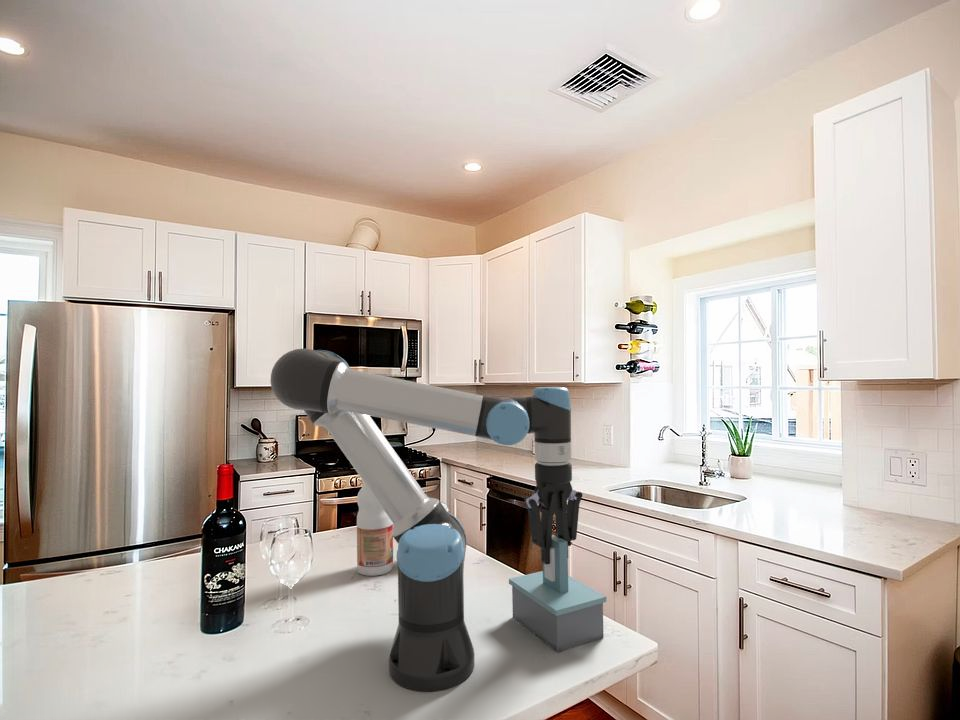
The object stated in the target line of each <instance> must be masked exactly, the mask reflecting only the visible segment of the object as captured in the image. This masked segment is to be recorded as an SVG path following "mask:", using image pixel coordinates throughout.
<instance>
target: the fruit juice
mask: <svg viewBox="0 0 960 720" xmlns="http://www.w3.org/2000/svg"><path fill="white" fill-rule="evenodd" d="M356 502H357V506H358V513H357V515H356V557H357V558H356V562H357V563H356V568H357V572H358V573H359V574H360V575H362V576H367V577H375V576H383V575H385V574H388V573H390V572H391V571H393V568H394V537H393V536H392V531H393V522H392V521H391V519H390V518H389V517H388V515H387V514H386V512H385V511H384V510H383V508H382V507H381V505H380V504H379V502H378V501H377V500H376V498H375V497H374V495H373V494H372V493H371V491H370V490H369V488H368V487H367V485H366V484H365V483H364V482H363V485H362V487H361V488H360V489H359V491H358V493H357V497H356Z"/></svg>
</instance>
